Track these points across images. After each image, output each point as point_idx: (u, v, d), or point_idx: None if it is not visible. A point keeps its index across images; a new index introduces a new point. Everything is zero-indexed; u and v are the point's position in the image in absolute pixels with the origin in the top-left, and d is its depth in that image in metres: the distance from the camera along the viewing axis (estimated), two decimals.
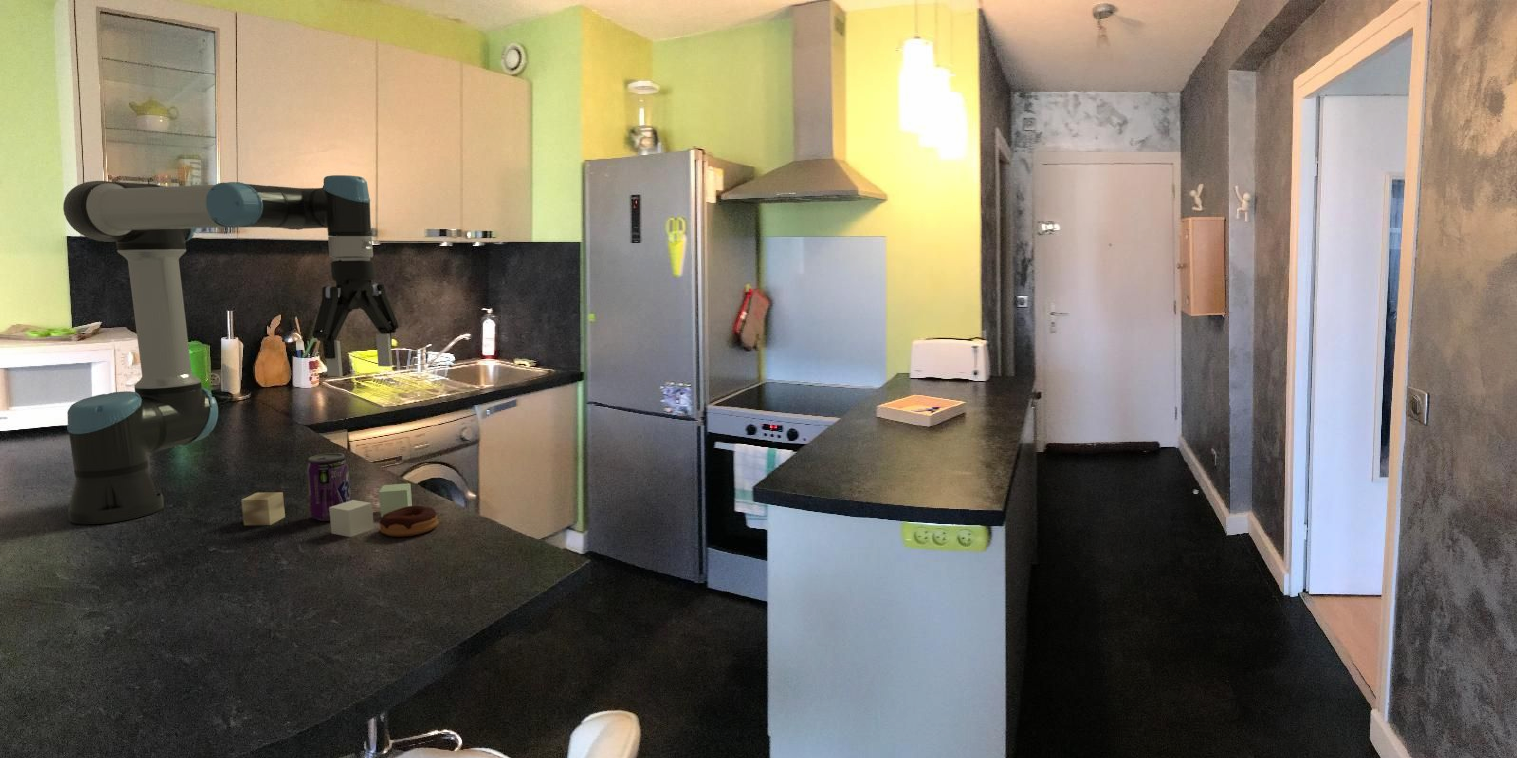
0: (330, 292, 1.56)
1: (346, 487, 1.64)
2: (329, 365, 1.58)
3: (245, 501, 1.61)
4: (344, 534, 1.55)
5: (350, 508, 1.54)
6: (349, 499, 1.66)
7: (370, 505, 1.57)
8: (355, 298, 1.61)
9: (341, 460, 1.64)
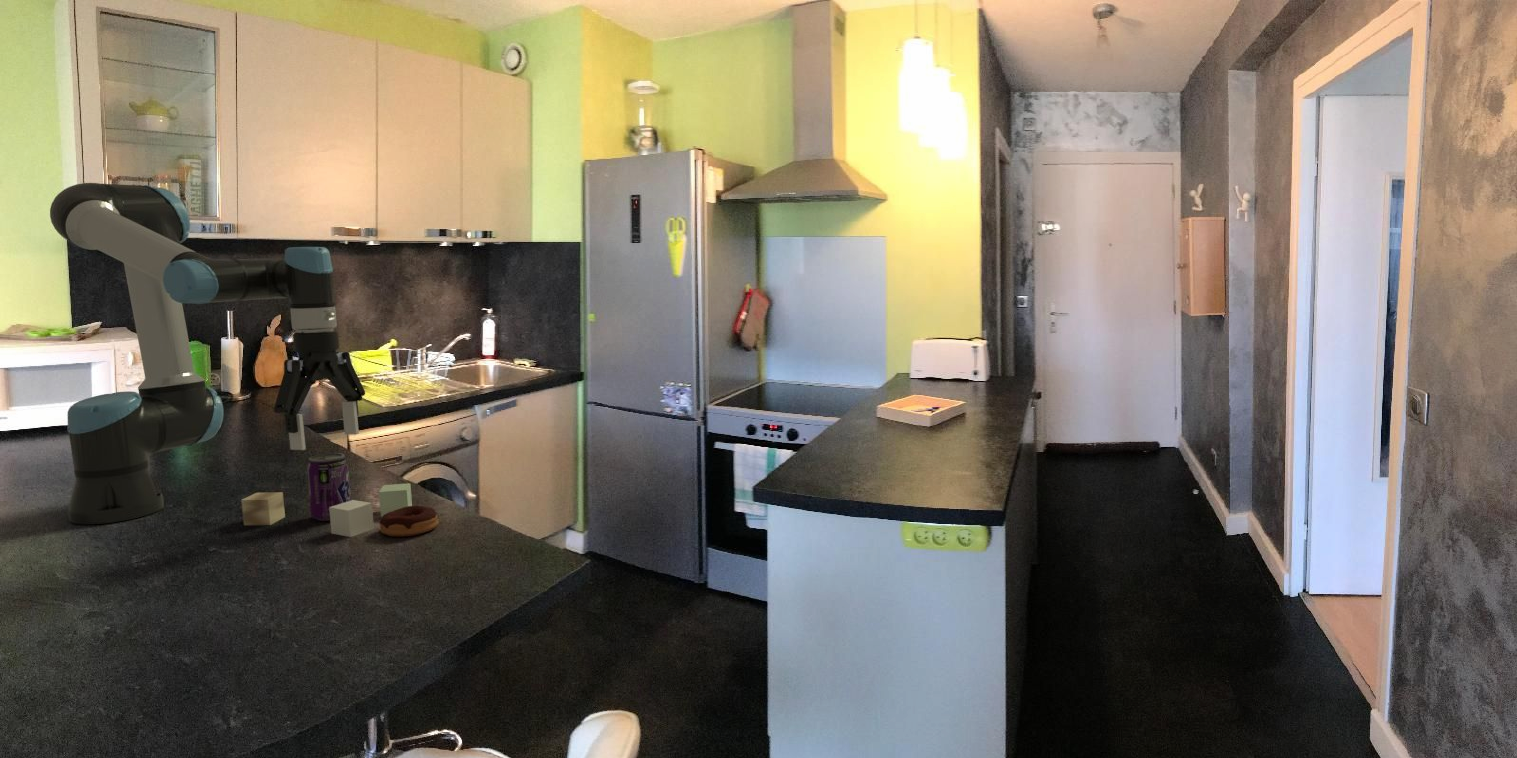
0: (291, 366, 1.54)
1: (346, 487, 1.64)
2: (291, 439, 1.56)
3: (245, 501, 1.61)
4: (344, 534, 1.55)
5: (350, 508, 1.54)
6: (349, 499, 1.66)
7: (370, 505, 1.57)
8: (318, 370, 1.59)
9: (341, 460, 1.64)
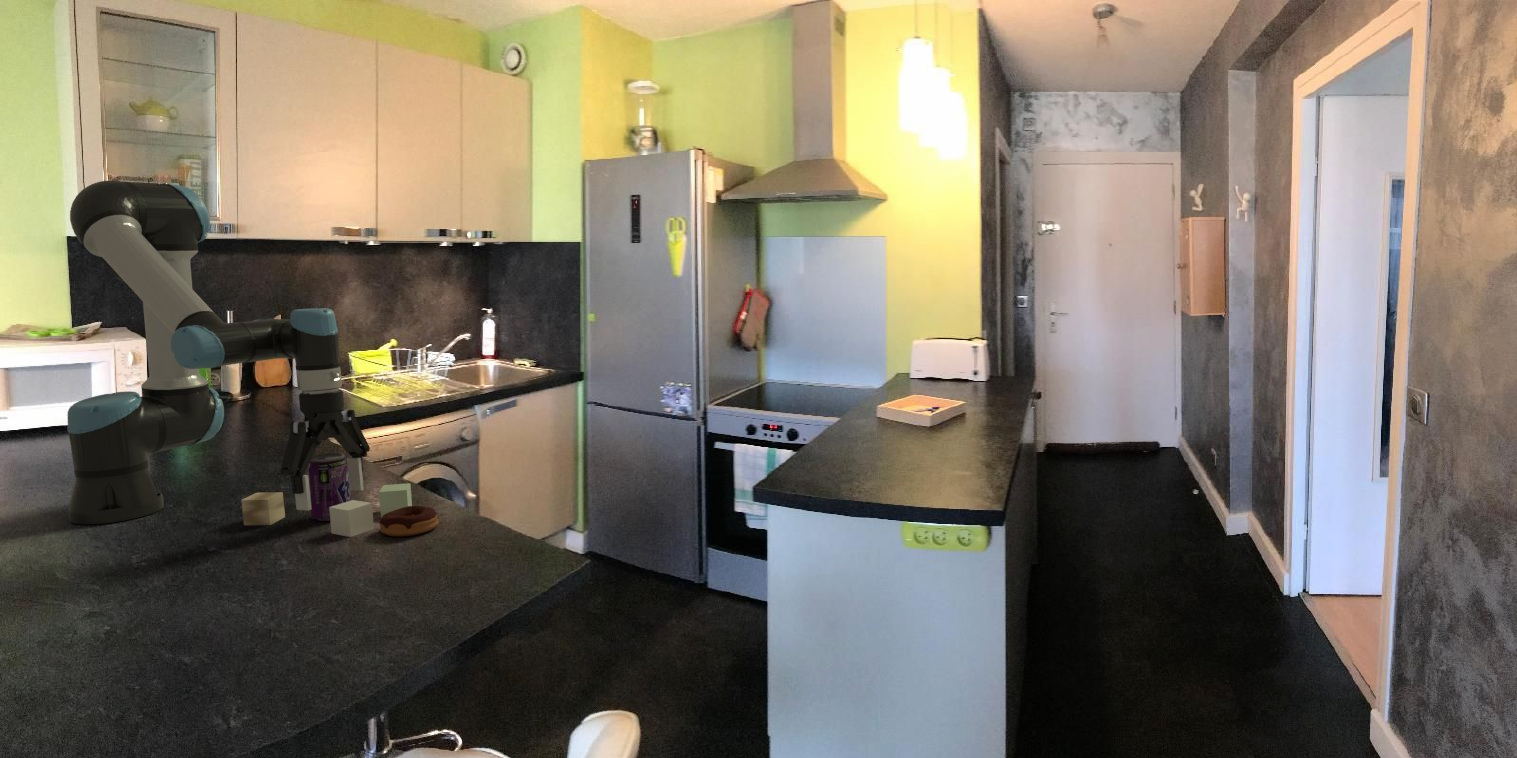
0: (297, 428, 1.56)
1: (346, 487, 1.64)
2: (297, 500, 1.58)
3: (245, 501, 1.61)
4: (344, 534, 1.55)
5: (350, 508, 1.55)
6: (349, 499, 1.66)
7: (370, 505, 1.58)
8: (324, 430, 1.61)
9: (341, 460, 1.64)
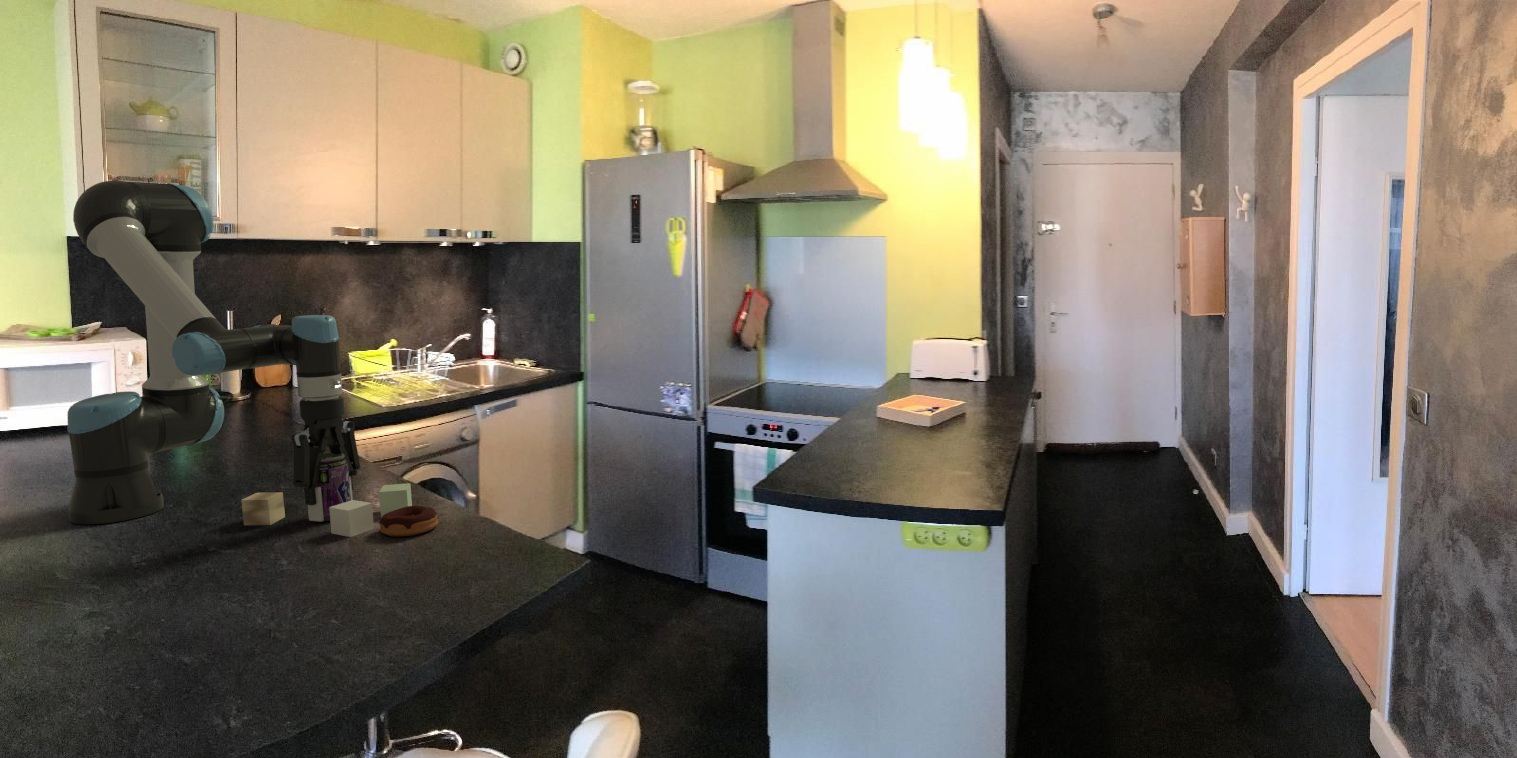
0: (299, 442, 1.57)
1: (346, 487, 1.64)
2: (310, 511, 1.61)
3: (245, 501, 1.61)
4: (344, 534, 1.55)
5: (350, 508, 1.54)
6: (349, 499, 1.66)
7: (370, 505, 1.57)
8: (325, 438, 1.61)
9: (341, 460, 1.64)
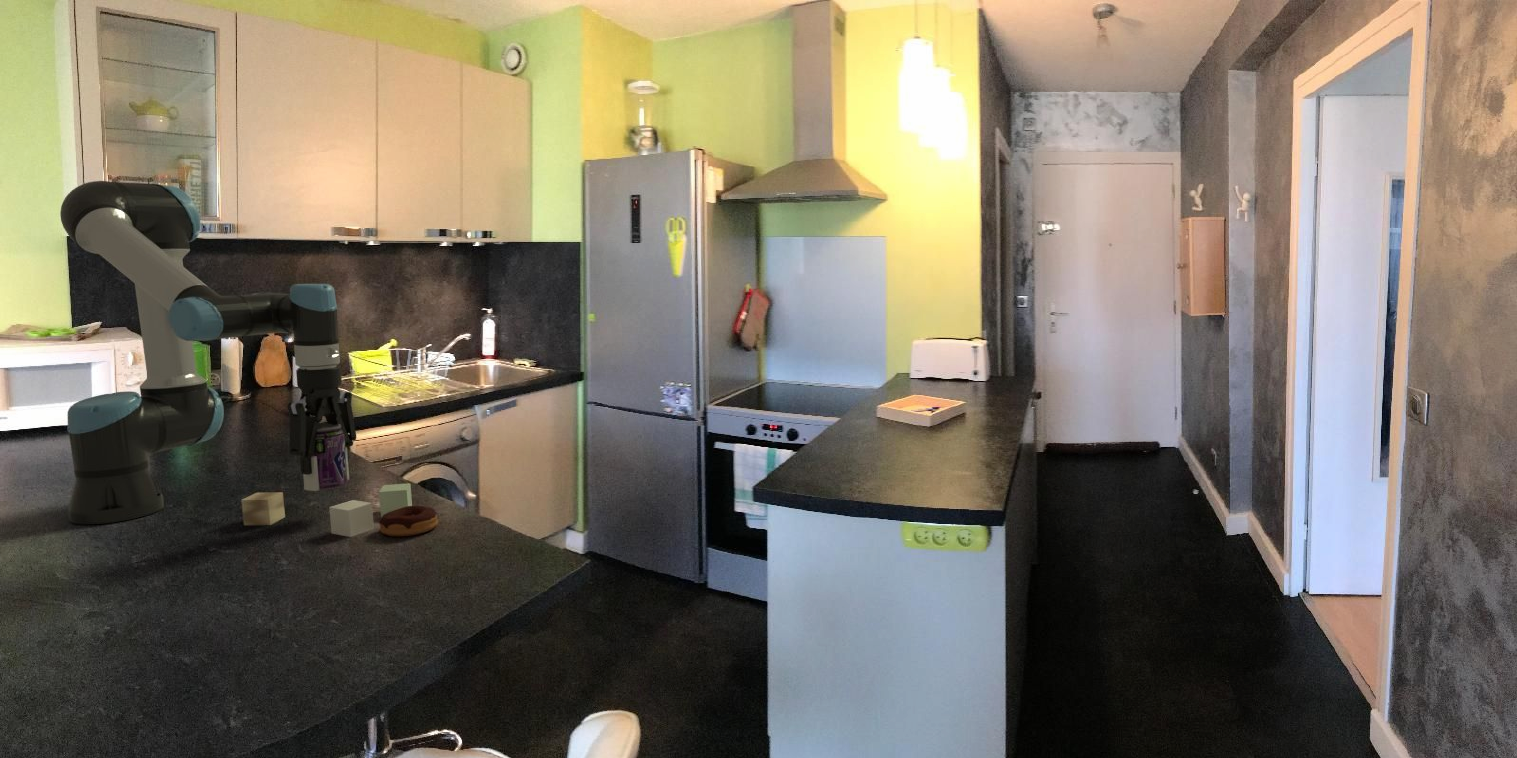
0: (296, 410, 1.56)
1: (342, 457, 1.64)
2: (306, 480, 1.61)
3: (245, 501, 1.61)
4: (344, 534, 1.55)
5: (350, 508, 1.55)
6: (345, 470, 1.65)
7: (370, 505, 1.58)
8: (322, 407, 1.60)
9: (337, 430, 1.63)
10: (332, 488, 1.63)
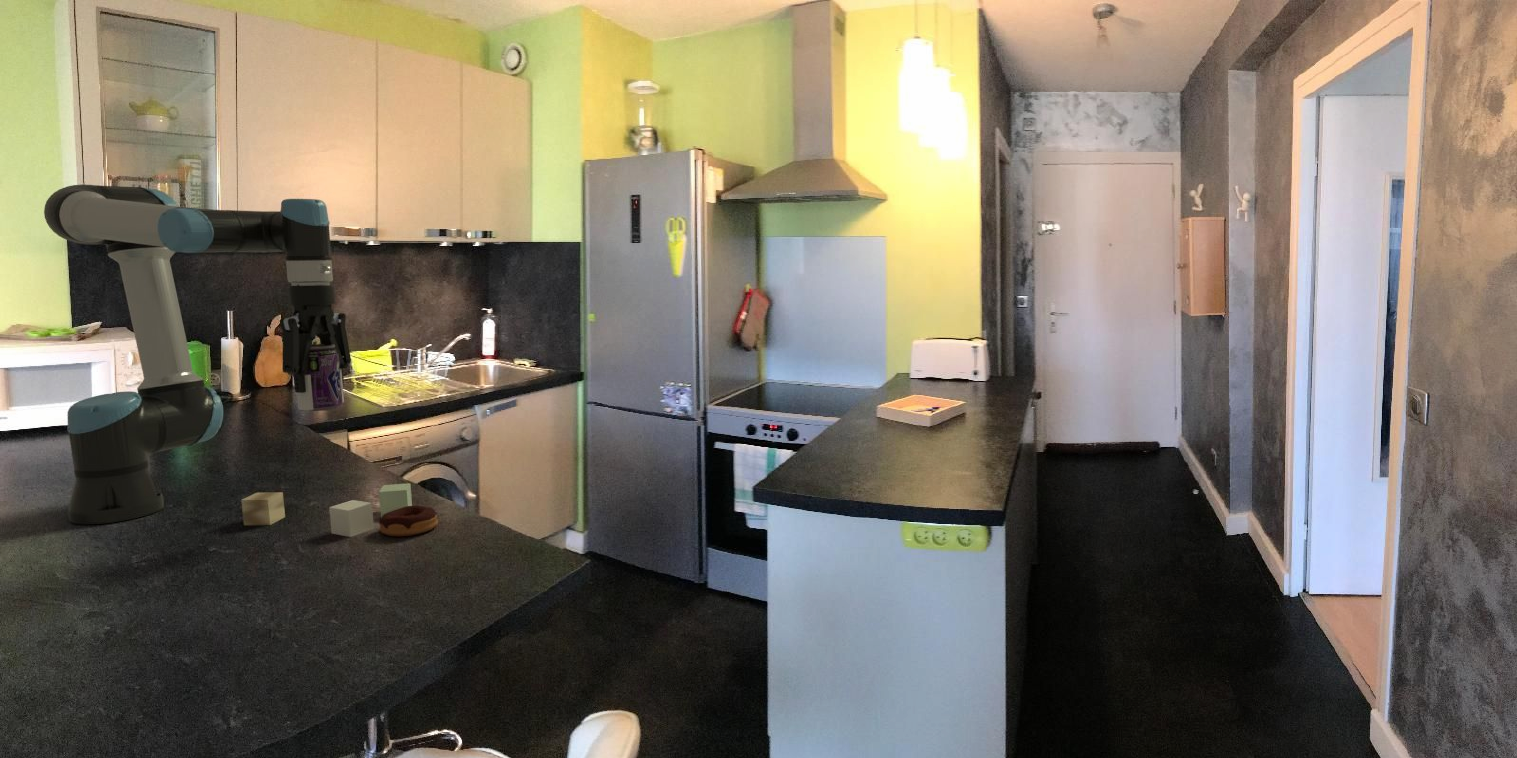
0: (289, 325, 1.54)
1: (336, 377, 1.61)
2: (299, 399, 1.58)
3: (245, 501, 1.61)
4: (344, 534, 1.55)
5: (350, 508, 1.54)
6: (340, 390, 1.62)
7: (370, 505, 1.57)
8: (315, 324, 1.58)
9: (331, 349, 1.60)
10: (327, 408, 1.60)
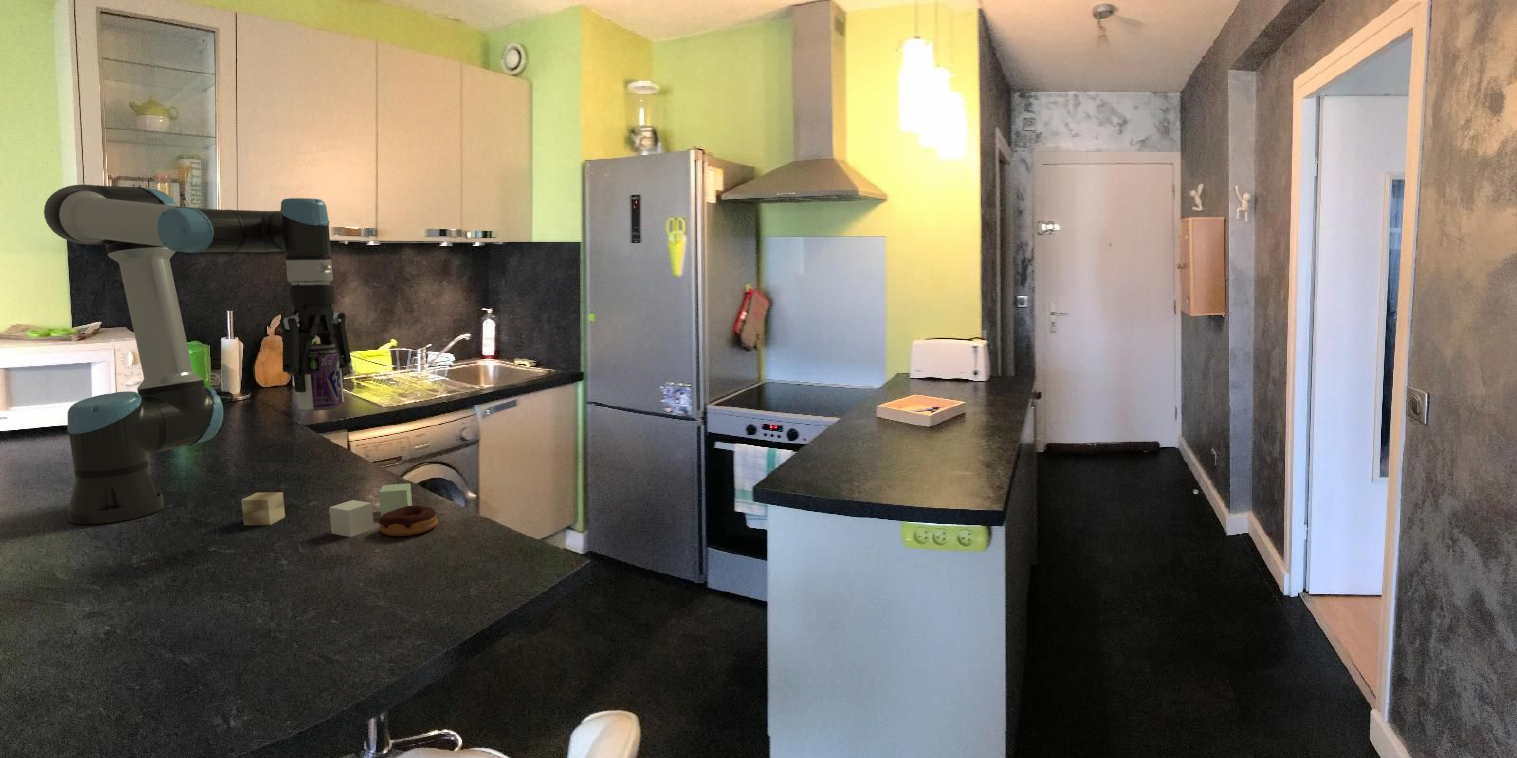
0: (288, 325, 1.54)
1: (336, 377, 1.61)
2: (299, 399, 1.58)
3: (245, 501, 1.61)
4: (344, 534, 1.55)
5: (350, 508, 1.54)
6: (340, 390, 1.62)
7: (370, 505, 1.57)
8: (315, 324, 1.58)
9: (331, 349, 1.60)
10: (327, 407, 1.60)
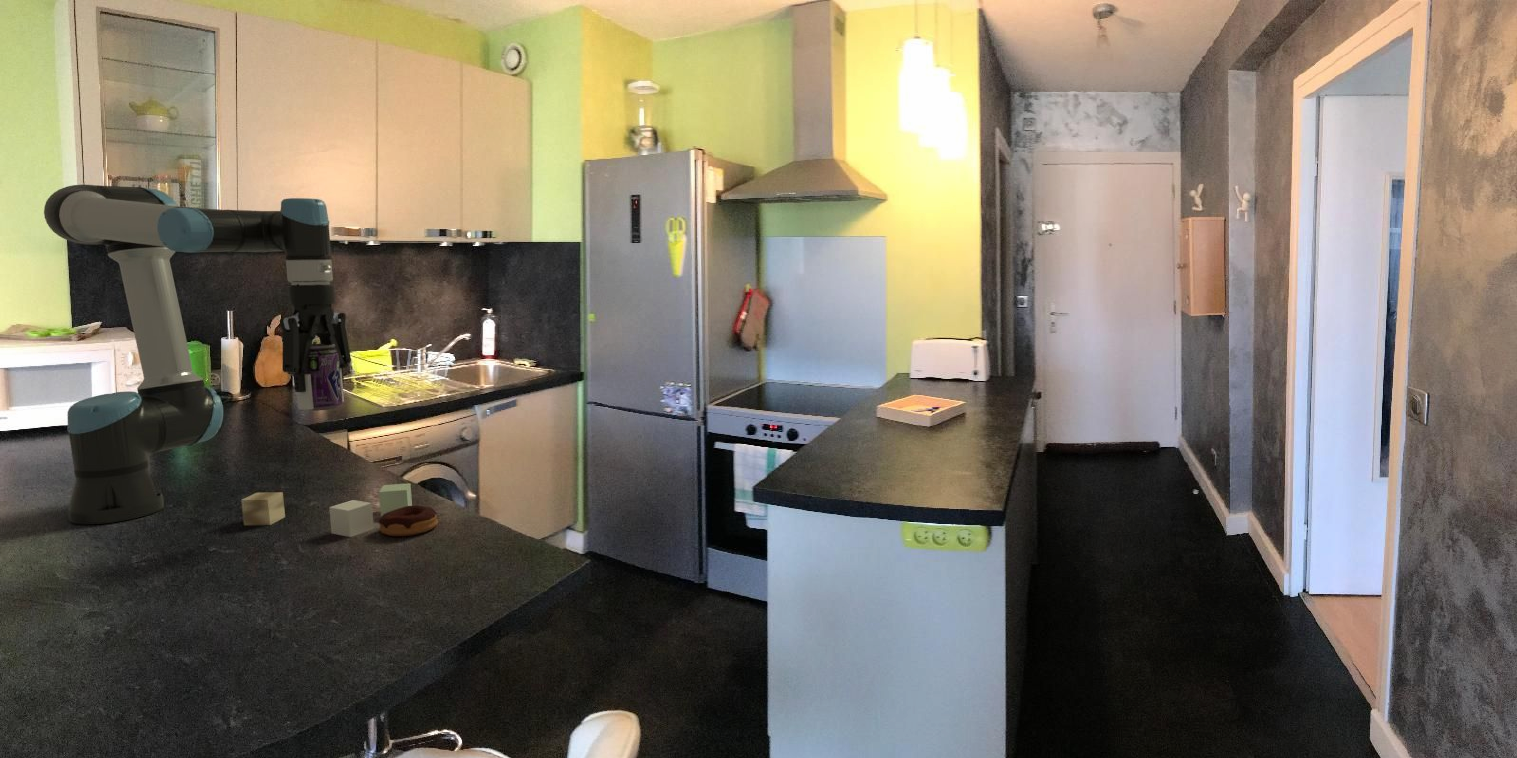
0: (288, 325, 1.54)
1: (336, 377, 1.61)
2: (299, 399, 1.58)
3: (245, 501, 1.61)
4: (344, 534, 1.55)
5: (350, 508, 1.54)
6: (340, 390, 1.62)
7: (370, 505, 1.57)
8: (315, 324, 1.58)
9: (331, 349, 1.60)
10: (327, 407, 1.60)
